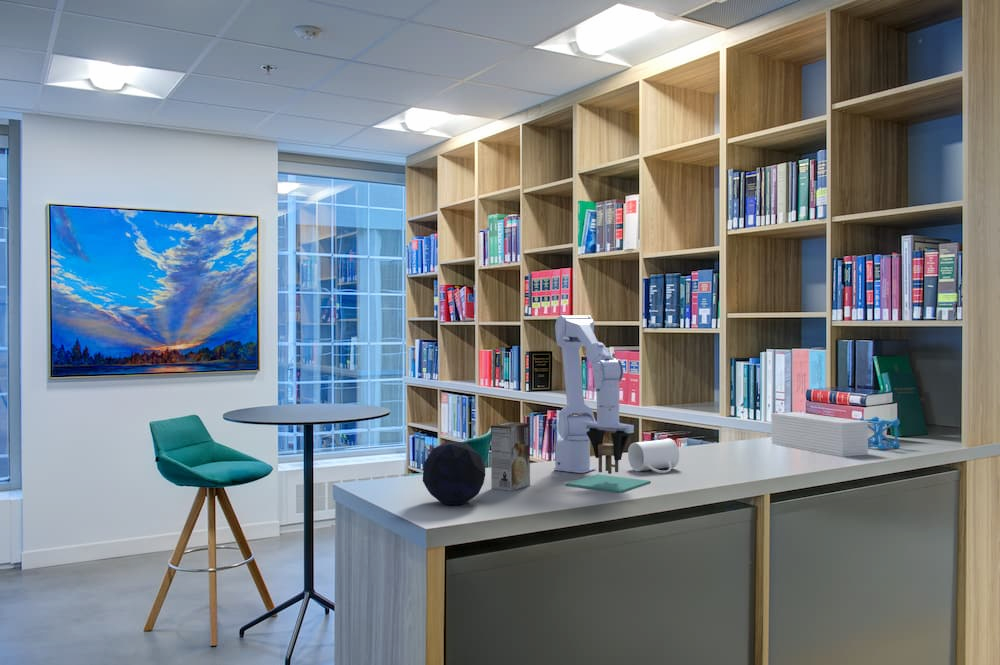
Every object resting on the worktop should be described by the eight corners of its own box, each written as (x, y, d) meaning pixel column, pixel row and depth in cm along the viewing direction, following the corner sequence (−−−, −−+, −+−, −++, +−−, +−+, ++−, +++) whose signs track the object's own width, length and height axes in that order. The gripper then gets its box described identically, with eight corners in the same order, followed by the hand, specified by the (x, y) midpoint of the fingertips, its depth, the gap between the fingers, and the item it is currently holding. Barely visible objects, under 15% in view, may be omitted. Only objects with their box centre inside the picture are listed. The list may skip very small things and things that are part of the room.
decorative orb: (401, 478, 184) (425, 430, 177) (449, 470, 194) (474, 425, 188) (432, 524, 176) (459, 475, 169) (481, 512, 186) (508, 467, 180)
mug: (689, 460, 220) (654, 465, 215) (678, 482, 225) (644, 487, 219) (667, 432, 228) (633, 435, 223) (657, 453, 233) (623, 457, 228)
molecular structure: (882, 451, 258) (882, 420, 258) (855, 447, 267) (855, 417, 267) (901, 448, 263) (901, 418, 263) (874, 444, 272) (874, 415, 272)
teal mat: (565, 485, 202) (565, 483, 202) (597, 476, 215) (597, 474, 215) (620, 492, 193) (620, 490, 193) (650, 482, 205) (650, 480, 205)
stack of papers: (771, 443, 276) (771, 413, 276) (795, 442, 280) (795, 411, 280) (842, 457, 247) (842, 422, 247) (868, 455, 251) (868, 421, 251)
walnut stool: (593, 472, 204) (593, 445, 204) (606, 469, 208) (606, 443, 208) (610, 474, 200) (610, 446, 200) (623, 471, 204) (623, 444, 204)
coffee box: (509, 482, 206) (509, 421, 206) (530, 485, 203) (530, 422, 203) (490, 488, 198) (490, 425, 198) (512, 491, 195) (512, 426, 195)
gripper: (640, 406, 202) (640, 459, 202) (594, 403, 212) (594, 454, 212) (624, 408, 197) (625, 463, 197) (578, 405, 207) (578, 457, 207)
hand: (608, 458), depth 204 cm, fingers closed on walnut stool, 5 cm apart
